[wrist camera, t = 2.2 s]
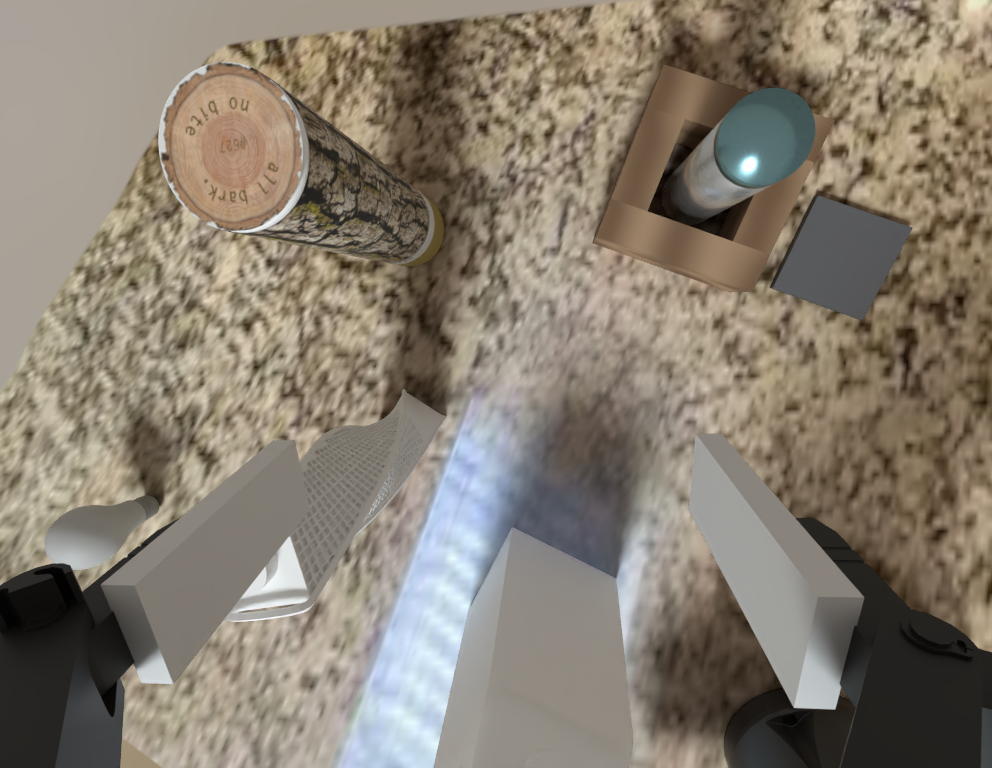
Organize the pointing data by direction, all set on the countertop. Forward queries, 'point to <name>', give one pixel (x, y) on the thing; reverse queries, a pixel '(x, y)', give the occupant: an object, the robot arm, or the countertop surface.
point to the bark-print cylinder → (286, 172)
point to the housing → (675, 246)
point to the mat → (840, 257)
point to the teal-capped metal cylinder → (741, 155)
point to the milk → (539, 667)
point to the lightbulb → (96, 531)
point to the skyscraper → (340, 504)
